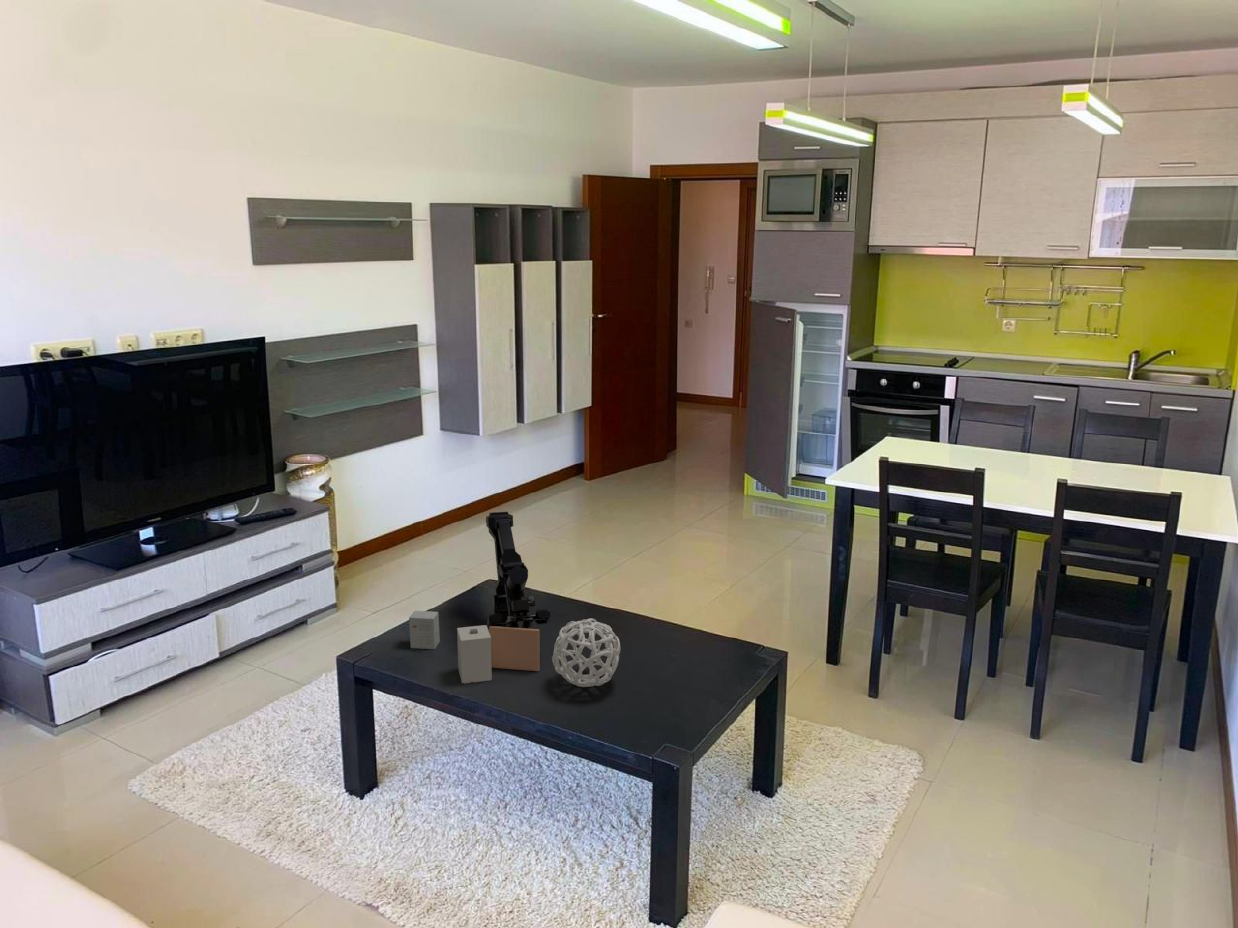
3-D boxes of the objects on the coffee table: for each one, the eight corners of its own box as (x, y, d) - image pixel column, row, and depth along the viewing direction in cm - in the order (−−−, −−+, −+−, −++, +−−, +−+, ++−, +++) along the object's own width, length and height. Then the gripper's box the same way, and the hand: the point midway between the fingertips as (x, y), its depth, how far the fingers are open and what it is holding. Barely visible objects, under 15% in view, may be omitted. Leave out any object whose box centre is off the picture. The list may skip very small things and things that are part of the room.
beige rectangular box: (457, 667, 276) (456, 623, 272) (486, 664, 278) (485, 620, 275) (462, 683, 267) (461, 638, 263) (491, 680, 269) (491, 634, 265)
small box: (440, 642, 293) (439, 611, 291) (435, 649, 288) (434, 618, 285) (415, 640, 294) (414, 610, 291) (410, 648, 288) (408, 617, 286)
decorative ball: (541, 694, 261) (541, 632, 256) (564, 664, 280) (564, 605, 275) (609, 705, 256) (610, 641, 251) (627, 673, 274) (629, 614, 270)
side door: (490, 665, 277) (490, 625, 274) (539, 669, 276) (539, 629, 272) (489, 667, 276) (489, 627, 273) (538, 671, 275) (538, 630, 271)
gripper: (487, 589, 273) (494, 639, 266) (549, 584, 278) (557, 632, 271) (484, 604, 282) (490, 652, 275) (544, 598, 288) (551, 646, 280)
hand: (522, 645), depth 275 cm, fingers closed
